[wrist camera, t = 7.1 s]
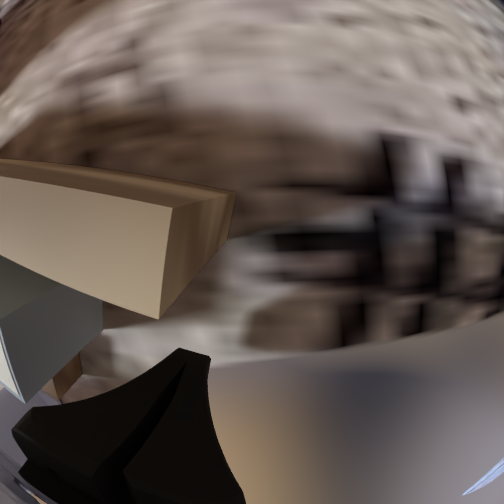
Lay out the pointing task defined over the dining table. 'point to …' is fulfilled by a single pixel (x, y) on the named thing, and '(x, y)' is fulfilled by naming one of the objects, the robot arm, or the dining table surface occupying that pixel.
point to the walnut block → (64, 378)
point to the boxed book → (40, 327)
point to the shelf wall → (111, 230)
